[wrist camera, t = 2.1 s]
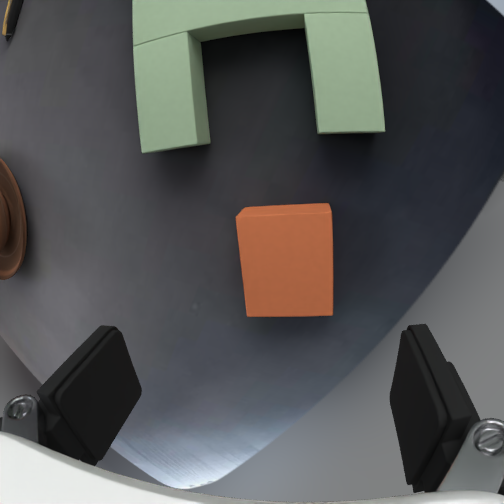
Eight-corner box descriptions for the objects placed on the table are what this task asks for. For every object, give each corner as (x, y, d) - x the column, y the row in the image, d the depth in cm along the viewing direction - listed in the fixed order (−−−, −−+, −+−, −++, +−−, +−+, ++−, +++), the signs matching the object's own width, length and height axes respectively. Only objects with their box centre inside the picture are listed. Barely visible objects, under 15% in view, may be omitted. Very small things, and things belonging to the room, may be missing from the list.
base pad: (334, -79, 11) (335, -98, 9) (375, 133, 16) (385, 131, 14) (149, -49, 14) (134, -62, 12) (159, 151, 19) (141, 153, 17)
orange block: (328, 202, 18) (331, 211, 16) (330, 296, 20) (332, 315, 18) (244, 207, 19) (235, 216, 17) (253, 297, 21) (247, 317, 19)
